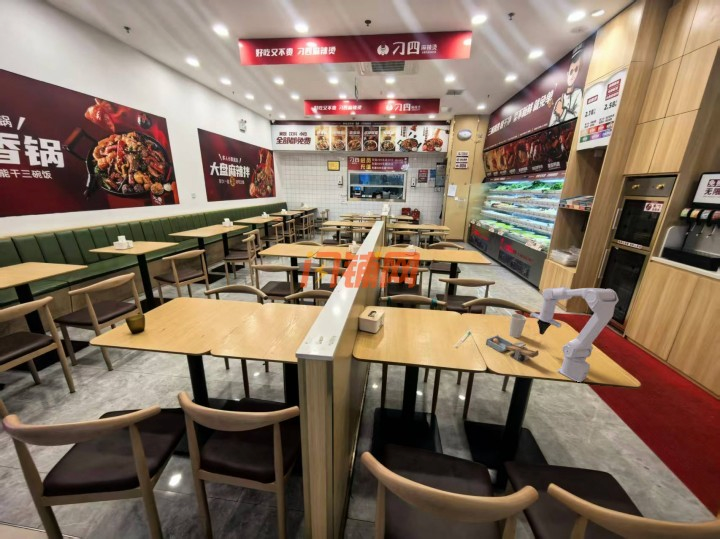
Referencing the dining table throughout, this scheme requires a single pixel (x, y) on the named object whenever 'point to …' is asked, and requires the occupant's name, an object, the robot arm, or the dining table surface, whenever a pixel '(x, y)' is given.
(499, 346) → the tray
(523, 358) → the stand
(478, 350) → the dining table surface
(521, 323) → the cup
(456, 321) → the dining table surface
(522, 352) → the seesaw
